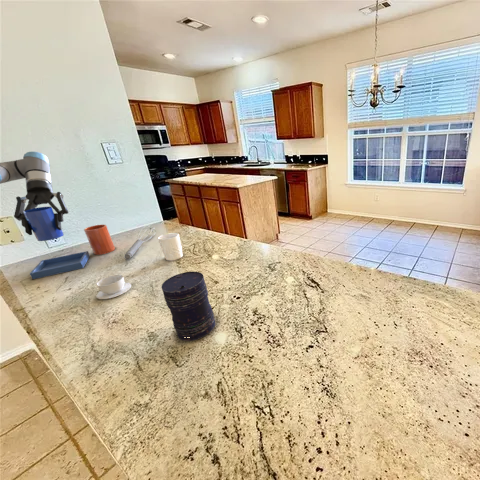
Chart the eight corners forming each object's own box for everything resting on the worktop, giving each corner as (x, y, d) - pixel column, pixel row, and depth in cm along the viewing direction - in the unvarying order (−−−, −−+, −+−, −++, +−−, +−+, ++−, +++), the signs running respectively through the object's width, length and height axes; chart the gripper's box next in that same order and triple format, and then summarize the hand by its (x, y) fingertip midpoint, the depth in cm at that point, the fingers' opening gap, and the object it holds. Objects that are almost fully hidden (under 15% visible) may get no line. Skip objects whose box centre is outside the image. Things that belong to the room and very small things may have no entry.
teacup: (138, 286, 94) (134, 274, 92) (109, 302, 85) (104, 290, 83) (119, 282, 97) (114, 271, 95) (89, 297, 88) (84, 285, 87)
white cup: (160, 260, 112) (153, 238, 108) (174, 252, 119) (168, 232, 115) (174, 262, 110) (168, 240, 106) (188, 254, 117) (182, 233, 113)
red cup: (89, 255, 121) (79, 230, 116) (103, 247, 129) (93, 224, 124) (106, 254, 121) (96, 230, 116) (119, 247, 128) (110, 224, 123)
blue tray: (32, 279, 102) (29, 273, 101) (44, 265, 113) (41, 260, 112) (83, 268, 109) (80, 262, 108) (89, 256, 120) (87, 251, 119)
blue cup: (31, 241, 105) (16, 212, 100) (51, 234, 112) (38, 206, 108) (51, 240, 105) (36, 211, 100) (69, 233, 112) (56, 206, 107)
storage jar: (177, 322, 74) (159, 266, 67) (214, 312, 78) (200, 258, 71) (175, 346, 66) (154, 285, 59) (217, 333, 69) (201, 274, 62)
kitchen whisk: (118, 262, 112) (113, 249, 110) (146, 235, 143) (142, 224, 140) (134, 260, 114) (129, 247, 111) (158, 233, 144) (155, 222, 142)
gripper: (75, 186, 119) (81, 229, 112) (10, 193, 109) (13, 241, 103) (67, 175, 113) (73, 220, 106) (-3, 182, 103) (0, 232, 96)
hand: (44, 230), depth 104 cm, fingers closed on blue cup, 8 cm apart
